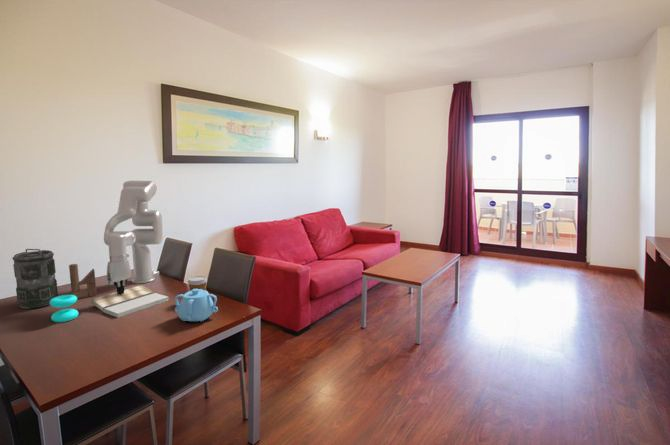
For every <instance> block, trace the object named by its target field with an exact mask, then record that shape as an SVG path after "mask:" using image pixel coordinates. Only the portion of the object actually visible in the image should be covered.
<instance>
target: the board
mask: <svg viewBox="0 0 670 445" xmlns="http://www.w3.org/2000/svg"><path fill="white" fill-rule="evenodd" d="M168 300H169V301H170V299H169V296H168V295H163V294H160V293H157V292H156V291H153V292H151V293H148V294H145V295H142V296H138V297H135V298H132V299H128V300H125V301H122V302H119V303H115V304H112V305H109V306H106V307H103V309H104V311H103V313H104V314H108V315H110V316H113V317H115V318H121V317H124V316H127V315H130V314H133V313H137V312H139V311H143V310H145V309H147V308H150V307H154V306H157V305H160V304H163V303H165V301H166V302H168ZM162 302H163V303H162Z"/></svg>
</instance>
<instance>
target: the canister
mask: <svg viewBox="0 0 670 445" xmlns="http://www.w3.org/2000/svg"><path fill="white" fill-rule="evenodd" d="M12 261H13V271H14V272H13V273H14V278H15V283H16V288H15V292H16V300H17V306H18V307H19V308H20V309H23V310H31V309H36V308H41V307H49V306H51V305H50V300H51V299H53V298H55V297H57V296H59V292H58V282H57V279H56V272H57V271H56V265H55V264H56V263H55V259H54V252H53V251H52V250H46V249H42V250H41V249H40V248H25V251H23V252H20V253H16V254H14V256H12Z"/></svg>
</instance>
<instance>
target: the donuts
mask: <svg viewBox="0 0 670 445" xmlns="http://www.w3.org/2000/svg"><path fill="white" fill-rule="evenodd" d="M77 301H78V299H77V297H76V296H75V295H71V294H62V295H58V296H57V297H55V298H53V299H51V300H50V305H49V306H51V307H53V308H56V309H57V308H63V309H60V310H57V311H56V312H54V313H53V314H52V315H51V317H50V318H51V321H53V322H54V323H65V322H69V321H73V320H74V319H76V318H77V317H79V311H78V310H77V309H75V308H66V307H70V306H72V305H74V304H75V303H77Z"/></svg>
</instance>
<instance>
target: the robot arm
mask: <svg viewBox="0 0 670 445" xmlns="http://www.w3.org/2000/svg"><path fill="white" fill-rule="evenodd" d="M122 187H123V188H122V189H121V191H120V196H119V201H118V208H117V212H116V213H115V214H114V215H112V216H111V218H110V219H109V220H108V221H107V223H106V225H105V227H104V233H103V242H104V244H105V245H106V246H108V254H109V255H108V256H109V261H108V262H107V266H106V279H107V280H106V281H108V285H109V286H115V287H116V292H117V293H118V294H124V290H125V286H126V283H127V282H129V281H130V280H131V283H132V284H147V283H150V282H153V281H155V280H156V277H155V276H156V275H160V271H159V270H157V271H153V269H152V257H151V256H152V255H151V254H152V253H151V250H150V247H148V246H149V245H150V246H151V245H152V246H153V245H160V244H161V243H162V242H163V218H162V217H163V216H162V213H161V211H159V210H157V209H156V210H155V209H153V210H152V209H150V210H149V202H150V201H151V200H152V198H153V197H154V196H155V195H156V193H157V189H158V188H157V187H158V186H157V183H156V182H155V181H152V180H127V181H124V182H123V184H122ZM130 219H131V222H132V224H133V225H134V226H135V227H151V228H135V229H132V230H129V231H127V230H126V231H125V230H124V231H121V230H119V231H118V230H115V228H117V226H118V225H120V224H121V223H124V222H125V221H128V220H130ZM130 246H131V250H132V251H131V252H132V266H133V278H131V277H132V270H131V265H130V261H129V259H128V257H130V254H128V253H127V247H130Z"/></svg>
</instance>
